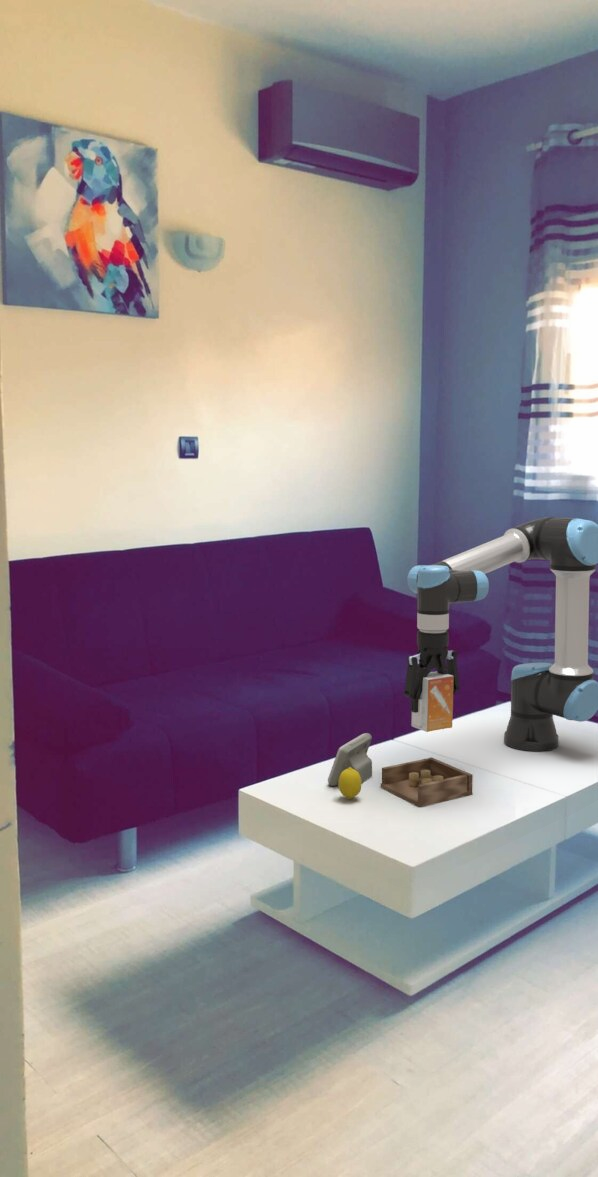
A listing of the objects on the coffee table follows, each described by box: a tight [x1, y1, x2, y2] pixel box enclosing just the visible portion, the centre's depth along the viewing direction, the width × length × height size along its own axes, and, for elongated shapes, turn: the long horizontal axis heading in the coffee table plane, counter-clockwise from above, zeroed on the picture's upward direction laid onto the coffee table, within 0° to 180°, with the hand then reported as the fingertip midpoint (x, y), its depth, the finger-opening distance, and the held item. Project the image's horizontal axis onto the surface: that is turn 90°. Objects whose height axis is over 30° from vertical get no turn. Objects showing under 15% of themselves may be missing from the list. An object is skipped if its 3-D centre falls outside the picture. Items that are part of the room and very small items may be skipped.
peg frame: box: [379, 756, 474, 808], centre depth 238 cm, size 16×16×5 cm
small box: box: [410, 670, 454, 733], centre depth 234 cm, size 8×6×13 cm
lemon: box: [338, 767, 363, 800], centre depth 232 cm, size 6×6×8 cm
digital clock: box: [327, 732, 373, 787], centre depth 247 cm, size 16×9×11 cm, turn 139°
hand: (431, 722), depth 235 cm, fingers closed on small box, 8 cm apart
